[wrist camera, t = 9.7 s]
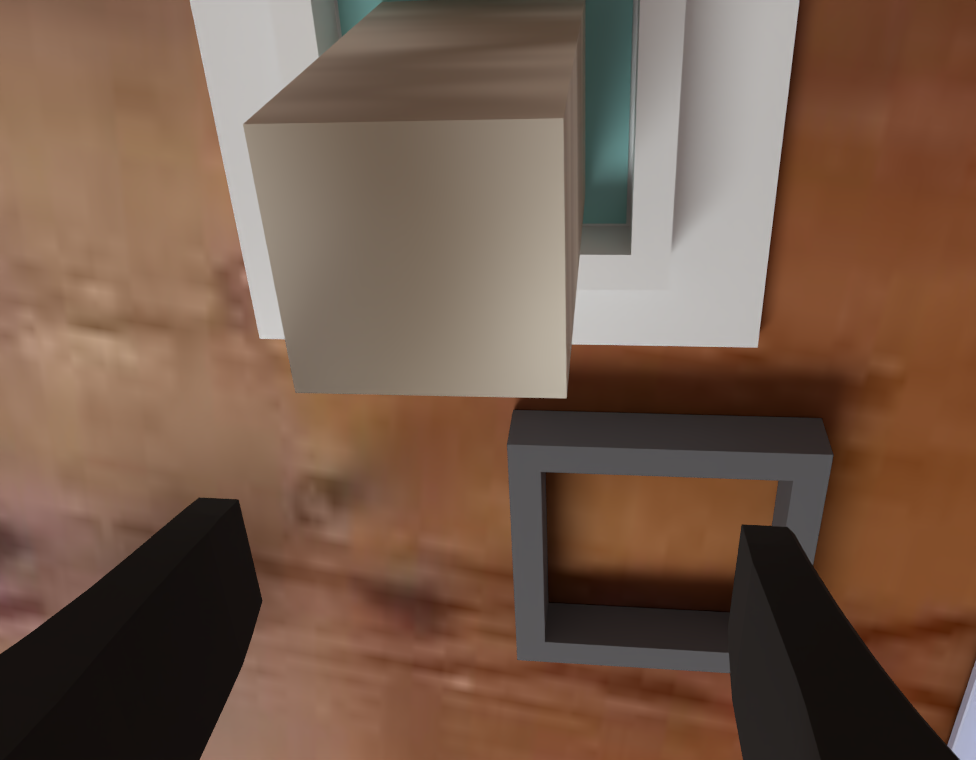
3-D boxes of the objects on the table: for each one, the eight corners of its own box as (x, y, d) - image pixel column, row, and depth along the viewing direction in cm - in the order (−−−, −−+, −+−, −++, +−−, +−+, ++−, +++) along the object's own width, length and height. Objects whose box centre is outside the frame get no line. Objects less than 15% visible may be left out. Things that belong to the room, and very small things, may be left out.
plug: (585, -6, 18) (564, 118, 11) (585, 193, 20) (566, 397, 13) (382, 2, 18) (243, 123, 12) (402, 195, 20) (295, 392, 14)
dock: (830, -289, 15) (853, -298, 14) (755, 339, 22) (766, 381, 20) (148, -243, 17) (100, -246, 15) (265, 330, 23) (239, 370, 22)
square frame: (821, 418, 23) (833, 454, 22) (784, 635, 27) (792, 677, 26) (513, 409, 24) (507, 444, 22) (522, 620, 28) (517, 660, 26)
